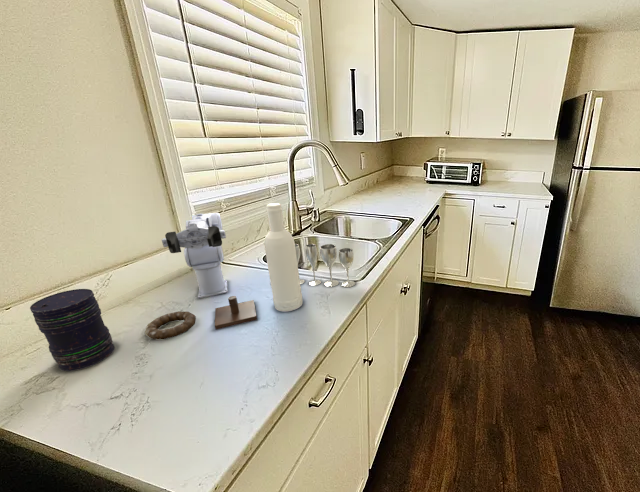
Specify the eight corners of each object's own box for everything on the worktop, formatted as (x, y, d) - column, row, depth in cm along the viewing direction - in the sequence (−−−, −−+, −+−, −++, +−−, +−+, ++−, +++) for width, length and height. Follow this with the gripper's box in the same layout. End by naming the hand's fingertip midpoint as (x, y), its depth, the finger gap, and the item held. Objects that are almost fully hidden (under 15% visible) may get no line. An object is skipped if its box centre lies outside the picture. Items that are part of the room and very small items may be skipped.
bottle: (268, 309, 93) (249, 206, 82) (286, 296, 100) (270, 200, 89) (292, 314, 90) (276, 208, 80) (308, 300, 97) (295, 201, 87)
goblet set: (357, 280, 110) (354, 243, 105) (353, 288, 104) (350, 249, 100) (278, 277, 113) (272, 241, 108) (270, 285, 107) (263, 247, 102)
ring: (151, 323, 87) (148, 316, 86) (197, 313, 91) (195, 306, 90) (143, 346, 78) (140, 337, 77) (195, 333, 82) (192, 325, 82)
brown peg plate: (216, 311, 92) (211, 294, 90) (254, 303, 96) (250, 286, 94) (215, 329, 84) (210, 310, 82) (257, 319, 88) (253, 301, 86)
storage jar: (103, 338, 81) (81, 285, 75) (124, 350, 76) (102, 294, 71) (49, 363, 73) (20, 304, 67) (69, 377, 68) (39, 316, 63)
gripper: (162, 224, 88) (152, 234, 76) (222, 216, 94) (221, 225, 82) (169, 249, 90) (160, 262, 78) (227, 240, 96) (227, 251, 84)
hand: (192, 245), depth 80 cm, fingers open, 7 cm apart
